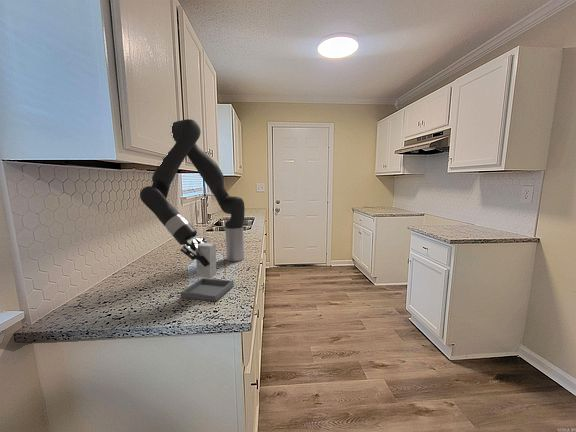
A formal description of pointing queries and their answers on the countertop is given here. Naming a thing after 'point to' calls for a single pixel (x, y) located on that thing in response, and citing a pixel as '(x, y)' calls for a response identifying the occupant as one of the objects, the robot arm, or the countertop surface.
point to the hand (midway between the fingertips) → (211, 262)
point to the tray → (207, 290)
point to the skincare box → (210, 254)
